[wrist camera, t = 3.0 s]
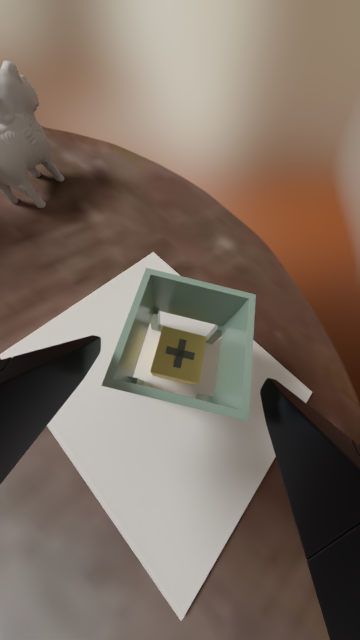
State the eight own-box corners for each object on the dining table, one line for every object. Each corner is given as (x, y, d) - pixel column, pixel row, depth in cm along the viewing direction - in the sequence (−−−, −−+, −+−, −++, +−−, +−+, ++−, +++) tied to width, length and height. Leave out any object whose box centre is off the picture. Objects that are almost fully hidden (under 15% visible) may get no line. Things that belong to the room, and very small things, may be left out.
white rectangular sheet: (309, 392, 18) (312, 392, 18) (180, 614, 12) (181, 621, 11) (153, 254, 24) (153, 252, 23) (2, 356, 17) (-2, 355, 17)
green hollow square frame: (203, 404, 17) (248, 421, 8) (133, 387, 17) (101, 385, 8) (213, 337, 19) (255, 294, 11) (153, 322, 19) (146, 267, 11)
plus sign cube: (191, 384, 17) (199, 383, 13) (152, 375, 17) (150, 371, 13) (198, 347, 19) (207, 336, 15) (163, 338, 19) (163, 325, 15)
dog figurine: (75, 164, 29) (31, 51, 20) (42, 214, 24) (-38, 96, 15) (43, 158, 29) (-17, 40, 19) (4, 208, 24) (-105, 82, 14)
